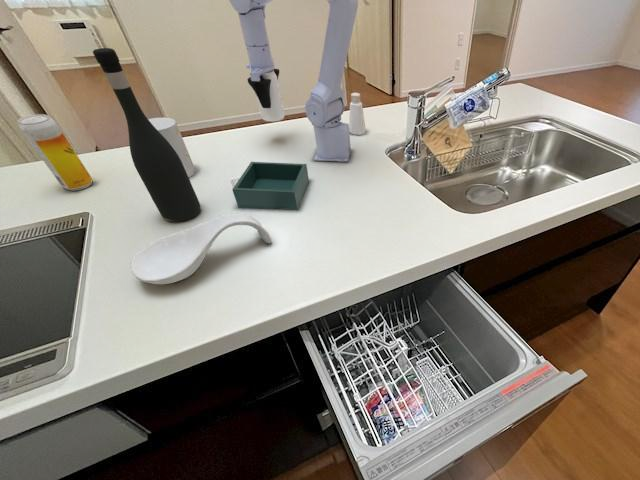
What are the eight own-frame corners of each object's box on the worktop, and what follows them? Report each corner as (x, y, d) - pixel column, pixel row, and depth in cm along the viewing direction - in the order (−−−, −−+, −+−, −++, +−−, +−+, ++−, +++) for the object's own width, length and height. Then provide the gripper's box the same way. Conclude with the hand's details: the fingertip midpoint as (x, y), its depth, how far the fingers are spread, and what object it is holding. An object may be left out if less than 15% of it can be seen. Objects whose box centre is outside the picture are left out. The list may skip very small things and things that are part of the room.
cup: (201, 173, 89) (181, 124, 80) (169, 184, 85) (144, 133, 76) (187, 162, 93) (166, 114, 84) (155, 172, 88) (130, 123, 80)
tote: (309, 180, 89) (306, 163, 85) (297, 209, 79) (294, 192, 76) (255, 178, 88) (251, 161, 85) (238, 207, 79) (232, 189, 76)
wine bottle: (158, 210, 77) (70, 46, 55) (196, 199, 80) (126, 42, 59) (167, 227, 73) (75, 58, 51) (206, 216, 76) (136, 52, 54)
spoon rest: (149, 304, 58) (126, 273, 53) (133, 267, 64) (111, 235, 59) (280, 252, 69) (272, 221, 64) (256, 224, 75) (246, 194, 70)
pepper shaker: (345, 132, 111) (342, 94, 103) (355, 127, 114) (353, 89, 106) (359, 136, 109) (357, 97, 101) (369, 131, 112) (368, 93, 104)
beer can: (100, 182, 84) (58, 116, 73) (77, 193, 80) (29, 126, 69) (81, 177, 85) (37, 111, 75) (57, 188, 81) (7, 121, 71)
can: (287, 115, 102) (279, 67, 93) (280, 123, 97) (270, 73, 89) (266, 113, 102) (255, 65, 93) (258, 121, 98) (245, 72, 89)
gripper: (250, 37, 92) (263, 94, 102) (231, 50, 82) (247, 111, 92) (277, 39, 92) (287, 95, 102) (261, 51, 82) (274, 113, 92)
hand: (270, 103), depth 97 cm, fingers closed on can, 6 cm apart
